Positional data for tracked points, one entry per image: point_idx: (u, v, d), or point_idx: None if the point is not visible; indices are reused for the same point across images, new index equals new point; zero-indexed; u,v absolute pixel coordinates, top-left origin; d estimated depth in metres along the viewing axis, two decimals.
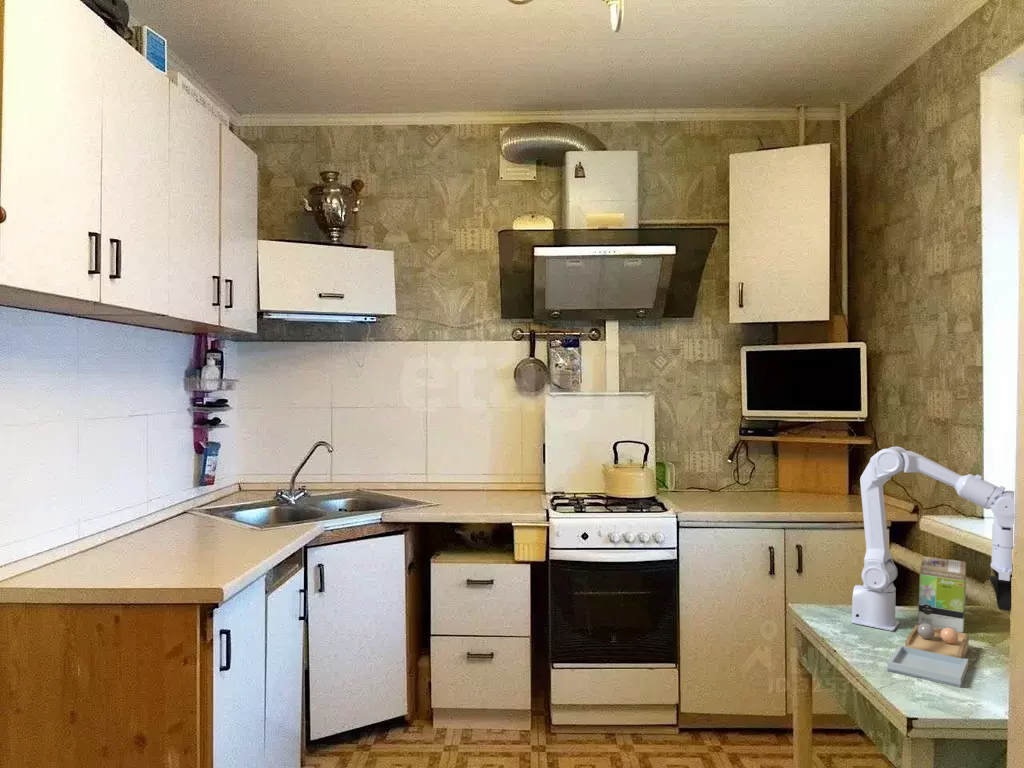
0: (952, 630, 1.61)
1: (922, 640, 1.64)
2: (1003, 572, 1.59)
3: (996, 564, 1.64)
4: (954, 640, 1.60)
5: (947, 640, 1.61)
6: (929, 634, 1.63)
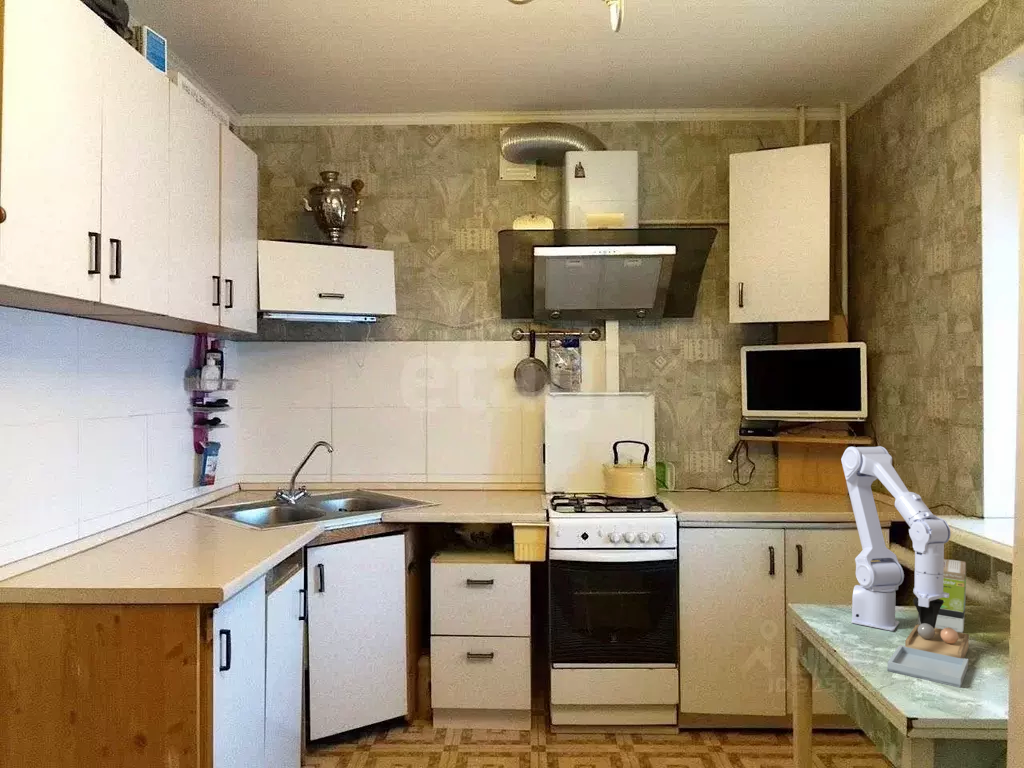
0: (952, 630, 1.61)
1: (922, 640, 1.64)
2: (922, 598, 1.61)
3: (918, 590, 1.66)
4: (954, 640, 1.60)
5: (947, 640, 1.61)
6: (929, 634, 1.63)
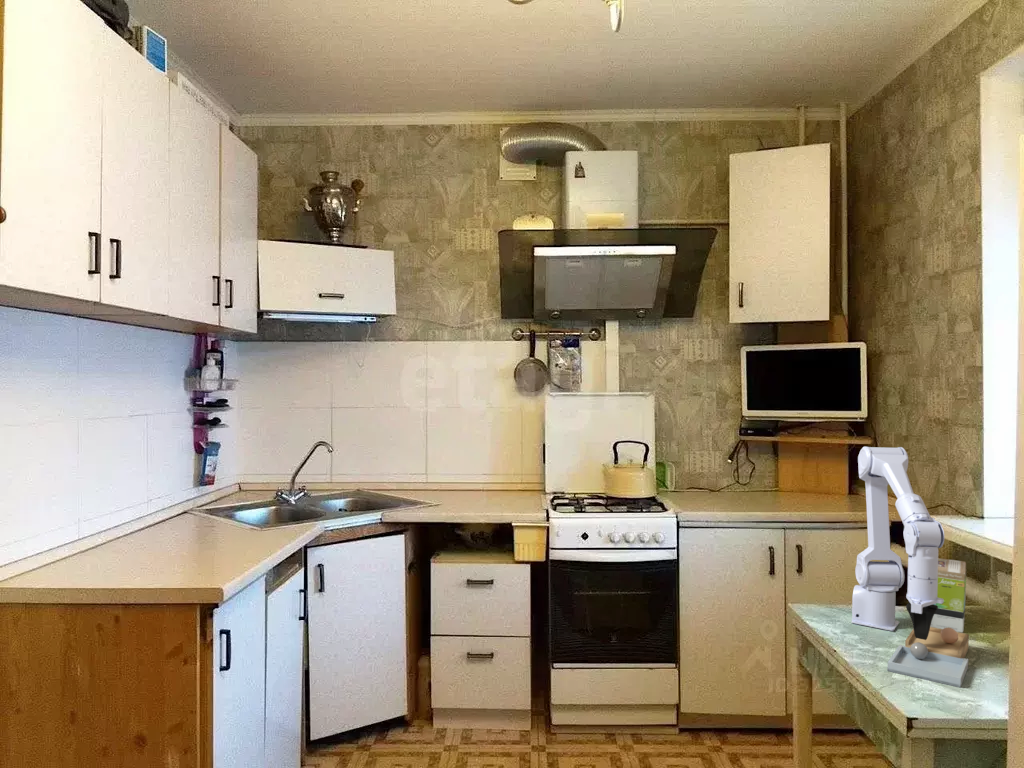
0: (952, 630, 1.61)
1: (922, 640, 1.64)
2: (915, 604, 1.54)
3: (911, 595, 1.59)
4: (954, 640, 1.60)
5: (947, 640, 1.61)
6: (922, 650, 1.56)
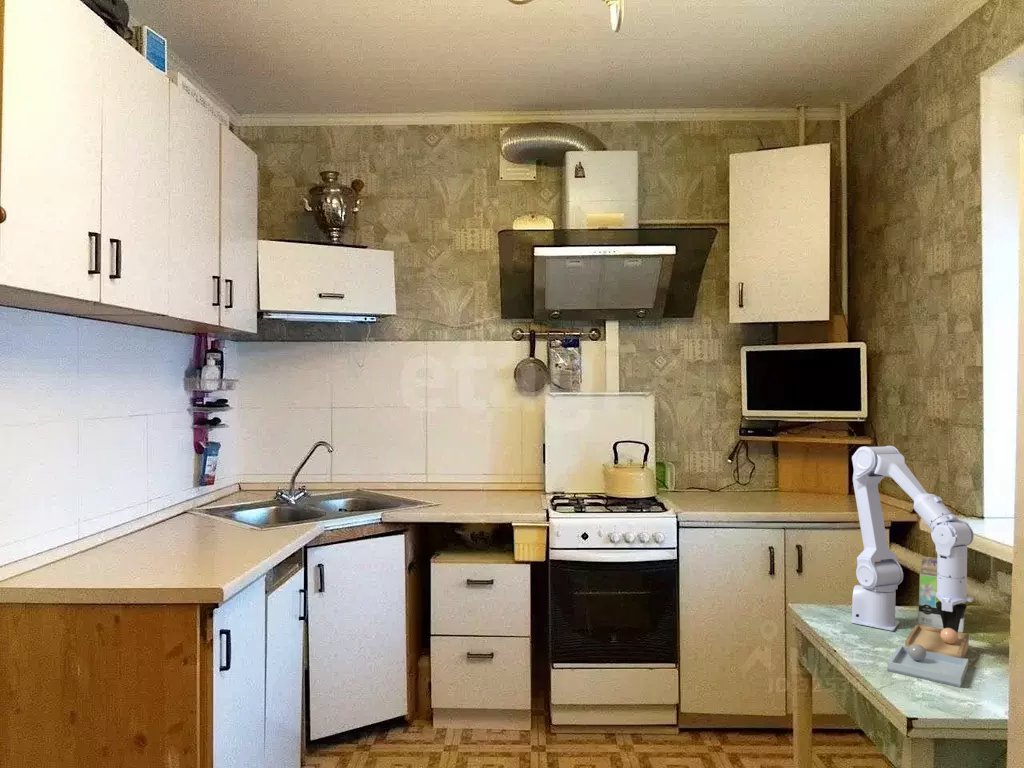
0: (952, 631, 1.61)
1: (922, 640, 1.64)
2: (946, 603, 1.58)
3: (940, 594, 1.63)
4: (954, 641, 1.60)
5: (947, 641, 1.61)
6: (920, 657, 1.55)
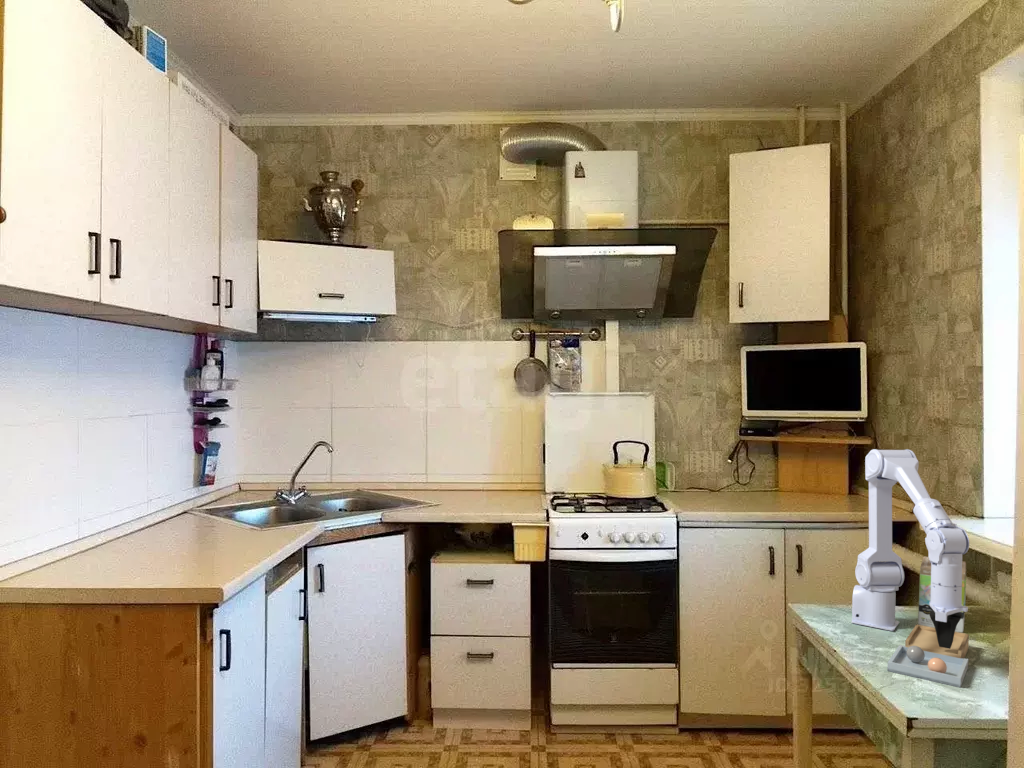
0: (940, 659, 1.49)
1: (922, 640, 1.64)
2: (940, 613, 1.51)
3: (934, 603, 1.56)
4: (942, 669, 1.47)
5: (935, 669, 1.48)
6: None
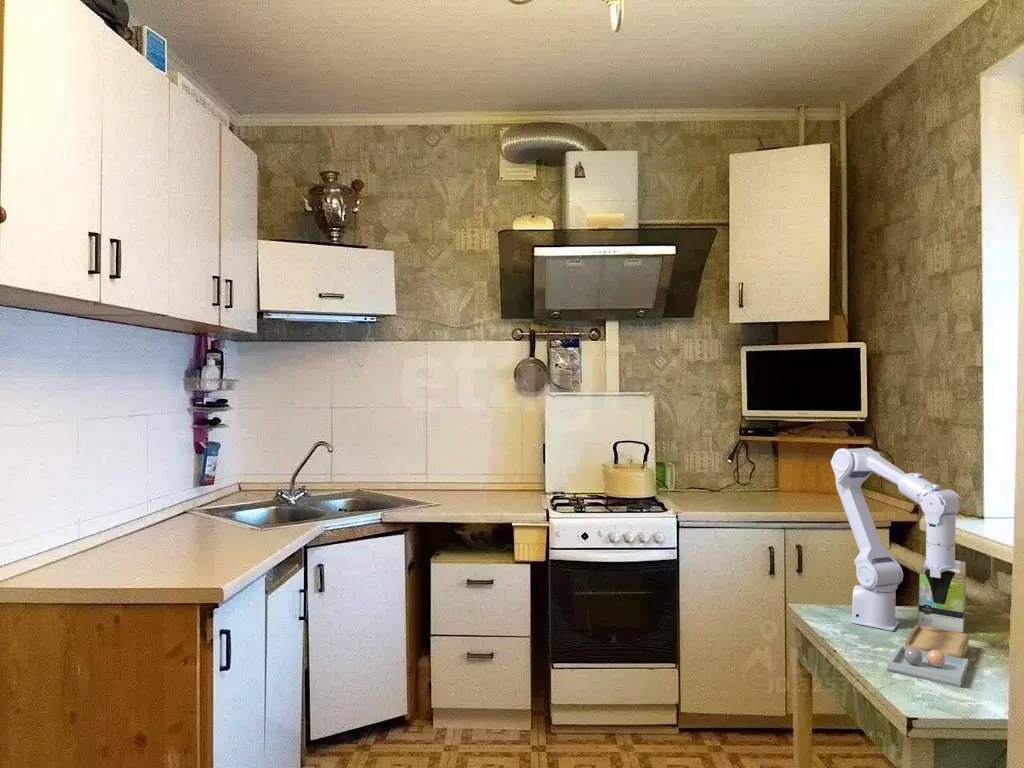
0: None
1: (922, 640, 1.64)
2: (934, 569, 1.61)
3: (929, 561, 1.66)
4: None
5: None
6: None
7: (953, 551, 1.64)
